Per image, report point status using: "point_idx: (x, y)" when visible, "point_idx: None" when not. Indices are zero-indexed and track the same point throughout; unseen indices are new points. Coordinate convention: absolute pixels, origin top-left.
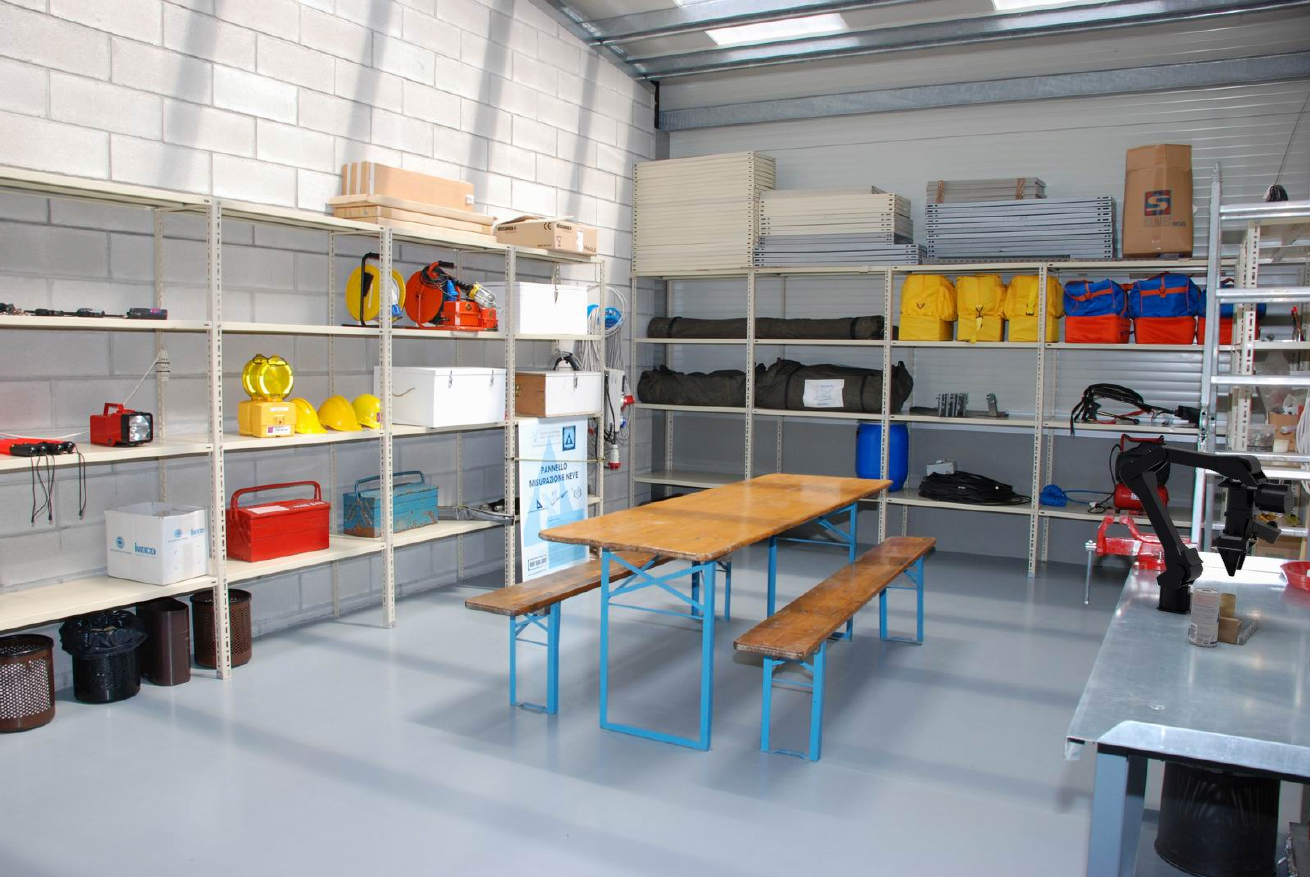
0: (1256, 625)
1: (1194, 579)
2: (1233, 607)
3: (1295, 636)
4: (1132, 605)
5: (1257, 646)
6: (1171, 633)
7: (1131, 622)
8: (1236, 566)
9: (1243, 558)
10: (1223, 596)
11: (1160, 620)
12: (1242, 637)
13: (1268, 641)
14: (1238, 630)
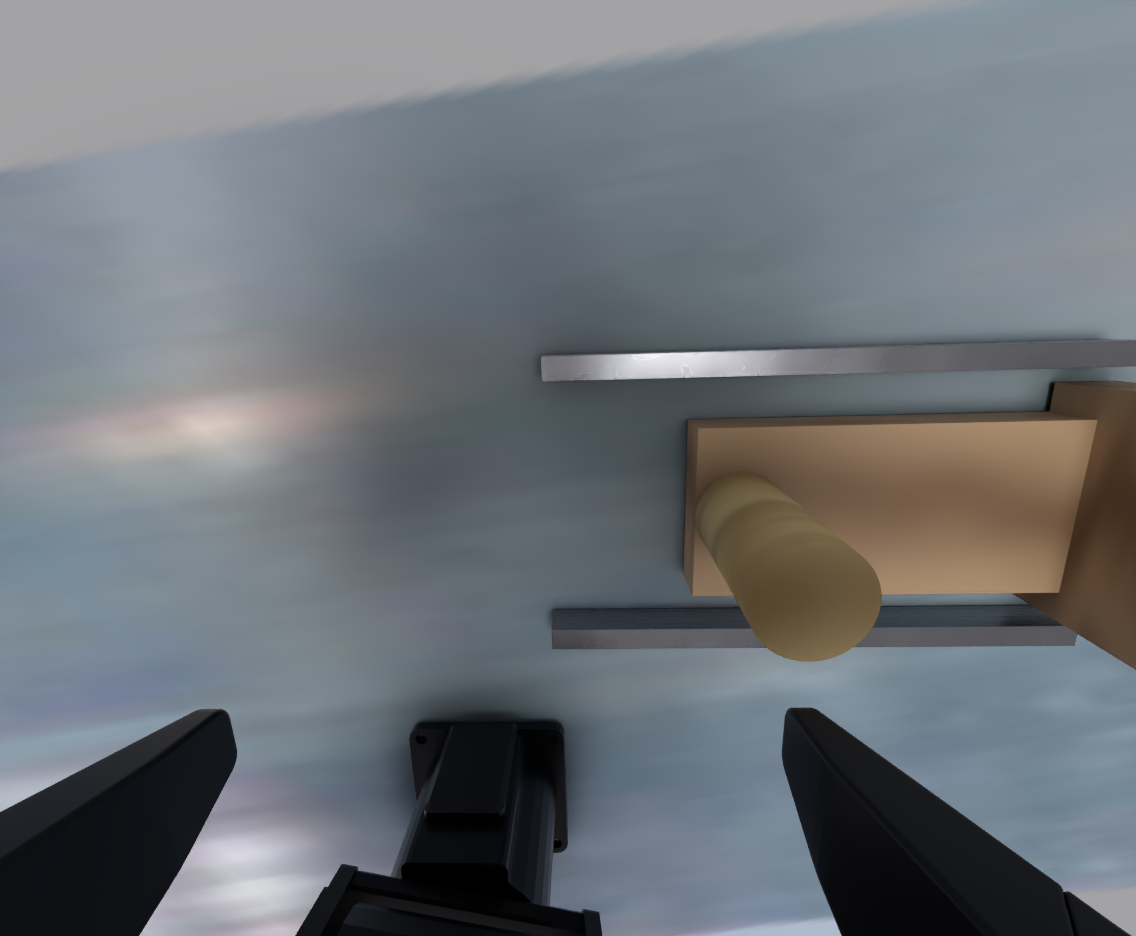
0: (587, 354)
1: (394, 909)
2: (805, 510)
3: (614, 97)
4: None
5: (1075, 260)
6: (1052, 693)
7: None
8: (997, 840)
9: (22, 868)
10: (860, 626)
11: None
12: (1120, 350)
13: (889, 226)
14: (820, 419)
